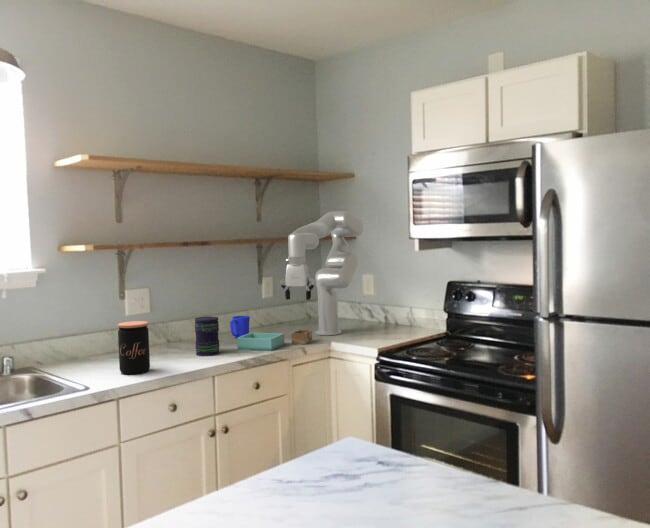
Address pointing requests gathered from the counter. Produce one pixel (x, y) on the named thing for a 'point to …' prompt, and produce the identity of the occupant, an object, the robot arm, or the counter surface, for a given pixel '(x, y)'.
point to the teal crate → (260, 341)
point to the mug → (239, 326)
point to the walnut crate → (301, 337)
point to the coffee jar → (133, 347)
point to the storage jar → (207, 336)
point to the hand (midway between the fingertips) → (298, 299)
